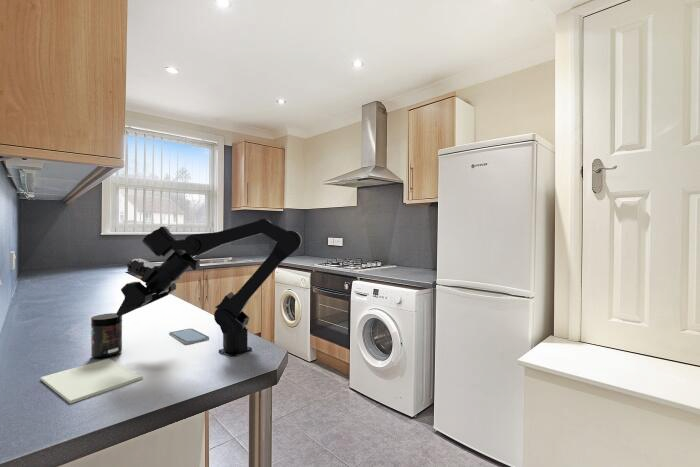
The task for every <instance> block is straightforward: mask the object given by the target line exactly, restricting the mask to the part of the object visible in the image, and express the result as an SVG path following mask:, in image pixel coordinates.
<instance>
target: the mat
mask: <svg viewBox="0 0 700 467" xmlns="http://www.w3.org/2000/svg"><path fill="white" fill-rule="evenodd" d="M143 379H144V376H143V375H142V374H140V373H138V372H135V371H134V370H132V369H130V368H128V367H126V366H124V365H121V363H118V362H116V361H114V360H113V359H111V358H107V359H101V360H98V361H95V362H91V363H88V364H84V365H80V366H76V367H73V368H70V369H65V370H62V371H59V372H58V371H57V372H55V373H52V374H48V375H43V376H41V377H40V381H41V382H43V383H44V384H45V385H46V386H48V387H49V388H50V389H52V390H53V391H54V392H55V393H56V394H58V395H59V396H60V397H61V398H63V399H64V400H65V401H67V403H69V404H70V405H71V404H74V403H76V402H79V401H83V400H85V399H88V398H91V397H94V396H97V395H100V394H103V393H105V392H109V391H111V390H114V389H117V388H121V387H122V386H125V385H129V384H132V383H134V382H138V381H140V380H143Z"/></svg>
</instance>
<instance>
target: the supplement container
mask: <svg viewBox="0 0 700 467" xmlns="http://www.w3.org/2000/svg"><path fill="white" fill-rule="evenodd" d="M116 313H117V312H113V313H103V314H98V315H94V316H92V317H90V344H91V345H90V347H91V348H90V356H91V358H92V359H94V360H105V359H111V358H114V357H117V356H118V355H120V354H121V352H122V351H123V315H122V316H120V317H119V316H118V315H117V314H116Z"/></svg>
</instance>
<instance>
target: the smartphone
mask: <svg viewBox="0 0 700 467" xmlns="http://www.w3.org/2000/svg"><path fill="white" fill-rule="evenodd" d="M168 335H169V336H171V337H172V338H174V339H176V340H177V341H178V342H180V343H181V344H182V345H192V344H195V343H199V342H204V341H205V342H206V341H208V340H210V336H209V335H207V334H204V333H202V332H200V331H198V330H197V329H194V328H184V329H180V330H175V331H170V332H168Z"/></svg>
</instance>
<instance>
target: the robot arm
mask: <svg viewBox="0 0 700 467" xmlns="http://www.w3.org/2000/svg"><path fill="white" fill-rule="evenodd" d="M262 234H263V235H265V236H267V237H268V238H269V239H271V240H273V241H275V242H276V243H275V245H274V247H273V249H272V251H271V253H270V254H269V255H268V257H267V258H266V259H265V260H264V261H263V263H261V264H260V266H259V267H258V268H257V269H256V270H255V271H254V272H253V274H252V275H251V276H250V277H249V279H247V281H246V282H245V283H244V284H243V285H242V286H241V287H240V289H239V290H238V291H237V292H236V293H235V294H234V292H233V291H230V292H229V293H227V294H226V295H225V296H224V297H223V299H222V300H221V302H220V303H218V304H217V305H216V306H215V308H216V309H215V311H214V314H213V318H214V321H215V323H216V324H217V325H218V326H219V328H220V330H221V332H222V347H223V348H220V349H218V353H220V354H224V355H225V356H229V357H237V356H239V355H241V354H245V353H247V352H250V351H252V350H253V348H252V347H251V346H248V328H247V327H246V326H248V324H249V321H250V317H249V315H247V314H246V313H245V312H244V310H245V308H246V306H247V304H248V303H249V300H250V299H251V297H252V296H254V294H255V293H256V292H257V291H258V289H259V288H260V287H261V286H262V285H263V284H264V283H265V281H267V279H268V278H269V277H270V276H271V274H272V273H273V272H274V271H275V270H276V269H277V268H278V267H279V265H281V263H282V262H283V261H285V260H286V259H287V258H288V257H289V256H291V255H292V254H294V252H296V251H297V250H299V248H300V247H301V246H302V243H303V237H302V235H301V234H300V233H299V232H297V231H296V230H287V229H285V228H283V227H281V226H280V225H277V224H275V223H273V222H272V221H270V220H269V219H268V218H267V219H266V218H259V219H258V220H255V221H252V222H248V223H245V224H242V225H237V226H233V227H231V228H227V229H224V230H220V231H215V232H205V233H193V234H189V235H188V236H185V239H184V238H181V239H180V238H179V239H178V238H176V236H175V235H173V233H171V231H170V230H169V229H168V228H167V227H166V226H160V227H159V228H157V229H155V230H153V231H152V232H150V233H148V234H146V235H145V237H143V239H142V241H141V243H142V244H143V245H144V246H145V247H146V248H147V249H148V250H150V251H151V253H153V255H155V256H156V257H157V258H158V259H159V258H161V257H162V258H164V259H165V258H166V259H165V260H164V261H163V262H162V263H161V264H160V265H158V264H154V263H152V262H150V261H148V260H146V259H143V258H134V259H132V260H130V261H129V263H127V264H126V267H127V272H128V273H132V274H135V275H137V276H138V277H139V276H140V277H141V278H140V280H141V281H132V282H127V283H126V284H124V286H122V287H121V288H120V292H121V293H122V295H123V296H124V299H123V301H122V302H121V304H120V306H119V308H118V310H117V312H115V313H116V314H117V315H118V316H119V317H120V316H122V317H123V316H124V315H126V314H128V313H131V312H133V311H135V310H137V309H140V308H143V307H145V306H147V305H149V304H152V303H153V302H156V301H158V300H161V299H163V298H165V297H168V296H169V295H171V294H173V293H174V292H175V291H176V290H177V284H176V283H175V282H178V281H179V280H180V279H181V278H180V277H181V276H183V274H185V272H186V271H187V270H189V269H190V268H191V269H192V270H193V271H196V270H199V269H201V263H200V262H201V259H196V258H194V256H195V257H196V256H201V255H205V254H207V253H209V252H212V251H214V250H216V249H218V248H220V247H222V246H224V245H226V244H230V243H234V242H236V241H240V240H244V239H248V238H251V237H255V236H257V235H262ZM184 251H185V252H184ZM142 282H143V283H144V284H142Z"/></svg>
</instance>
